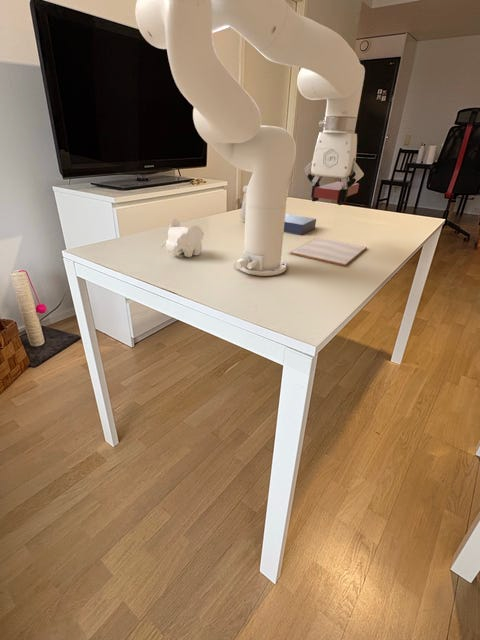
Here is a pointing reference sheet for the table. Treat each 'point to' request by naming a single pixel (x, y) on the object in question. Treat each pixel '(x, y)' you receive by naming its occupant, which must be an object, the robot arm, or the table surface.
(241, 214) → the salt shaker
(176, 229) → the elephant figurine
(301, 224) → the navy book
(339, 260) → the wooden board
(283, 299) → the table surface
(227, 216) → the table surface
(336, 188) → the red rectangular block
